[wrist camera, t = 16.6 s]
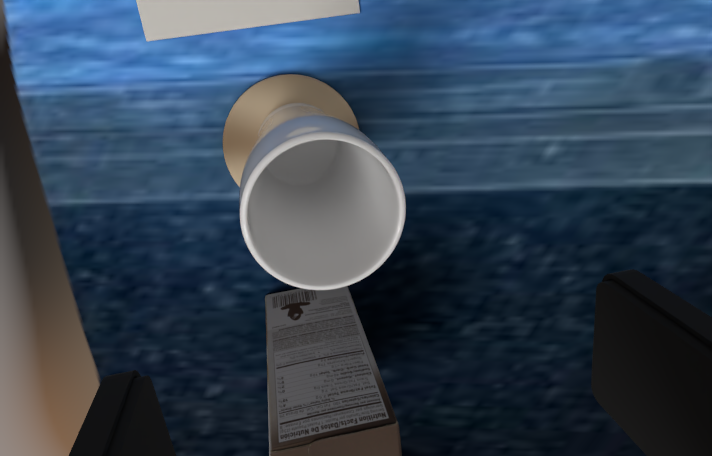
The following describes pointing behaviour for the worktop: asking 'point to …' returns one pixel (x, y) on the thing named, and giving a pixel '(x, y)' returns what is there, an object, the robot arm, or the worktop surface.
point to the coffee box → (324, 379)
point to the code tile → (231, 14)
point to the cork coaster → (265, 100)
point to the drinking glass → (318, 200)
